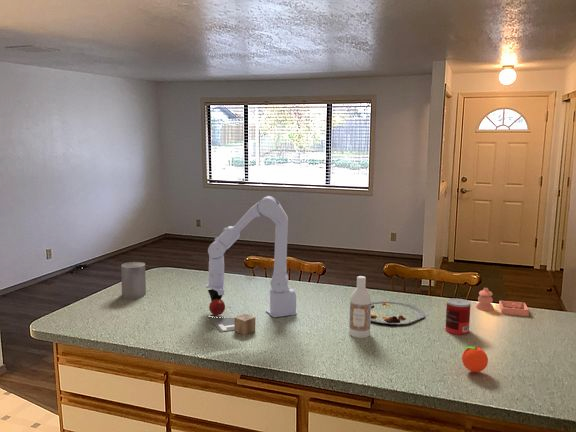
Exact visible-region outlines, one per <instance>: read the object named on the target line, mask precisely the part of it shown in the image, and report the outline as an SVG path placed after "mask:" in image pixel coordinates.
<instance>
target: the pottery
mask: <svg viewBox="0 0 576 432" xmlns="http://www.w3.org/2000/svg"><path fill="white" fill-rule="evenodd" d="M478 294H479V296H478V298H477V300H478V302H477V304H476V305H475V308H476V309H477V310H479V311H482V312H491V311H494V306H493V304H492V303H493V301H494V300H493V298H492V296H493V292H492V291H490V290H489V288H488V287H483V289H482V290H480V291H479V292H478ZM498 303H499V309H500V312H501V314H502V315H512V316H521V317H529V316H530V315H529V313H530V309H529V307H528V306H527V304H526V302H521V301H508V300H499V302H498Z"/></svg>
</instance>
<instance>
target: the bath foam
mask: <svg viewBox="0 0 576 432" xmlns="http://www.w3.org/2000/svg"><path fill="white" fill-rule="evenodd" d="M366 282H367V278H366V276H363V275H359V276H356V288H355V289H354V290H353V292H352V293H351V296H350V299H349V327H348V328H349V331H348V332H349V335H350V336H351V337H353V338H357V339H365V338H369V336H370V335H371V311H372V309H371V306H372V305H371V303H372V298H371V294H370V293H369V291H368V289H367V288H366Z"/></svg>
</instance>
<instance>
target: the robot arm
mask: <svg viewBox="0 0 576 432" xmlns="http://www.w3.org/2000/svg"><path fill="white" fill-rule="evenodd" d="M262 215H263V216H265V217H267V218H269V219H270V220H271V221H272V222H273V223H274V224H275V226H274V227H275V230H274V232H275V233H274V258H273V259H274V263H273V274H272V277H271V280H270V288H269V309H266V310H265V312H266V313H268V314H269V315H270V316H272V318H279V317H287V316H294V315H297V314H298V313H297V294H296V291H295V289H293V288H290V287H289V286H288V285H289V284H288V283H289V279H290V278H289V274H288V272H287V260H288V259H287V258H288V233H289V232H288V231H289V230H288V229H289V218H288V215H287V212H286V211H285V210H284V208H283V206H282V204H281V203H280V201H278V200H277V199H276V198H275V197H274V196H271V195H266V196H264V197H263V198H261V200H259V201H258V202H256V203H255V204H254V205H252V206H251V207H250V208H249V209H248V210H247V211H246V212H245V214H243V216H242V217H240V219H239V220H238V221H237V222H236V223H235V224H234V225H233V226H232V225H229V226H227V227H224V228H223V229H222V232H221V233H220V235H219V236H217V237H215V238H214V241H213V242H212V243H210V244H209V246H208V248H207V254H208V257H209V258H208V260H209V261H208V283H207V284H204V286H205V288H206V289H207V293H208V295H209V297H210V303H211V302H212V301H213V300H214V299H221V300H222V298H223V296H224V295H225V253H226V251H227V250H228V249H230V248H231V246H233V244H235V243H236V242H237V240H238V239H240V237H241V235H240V234H241V231H242V230H243V229H245V227H246V226H247V225H248V224H249V223H250V222H252V221H253V219H255V218H259V217H262Z"/></svg>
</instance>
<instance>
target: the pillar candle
mask: <svg viewBox="0 0 576 432" xmlns="http://www.w3.org/2000/svg"><path fill="white" fill-rule="evenodd" d="M120 270H121V271H120V275H121V277H120V278H121V297H122V298H124V299H127V298H129V299H131V298H133V299H138V298H143V297H145V296H146V295H147V284H146V282H147V281H146V279H147V278H146V263H145V262H139V261H131V262H130V261H129V262H124V263H122V264H121V266H120Z"/></svg>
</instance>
